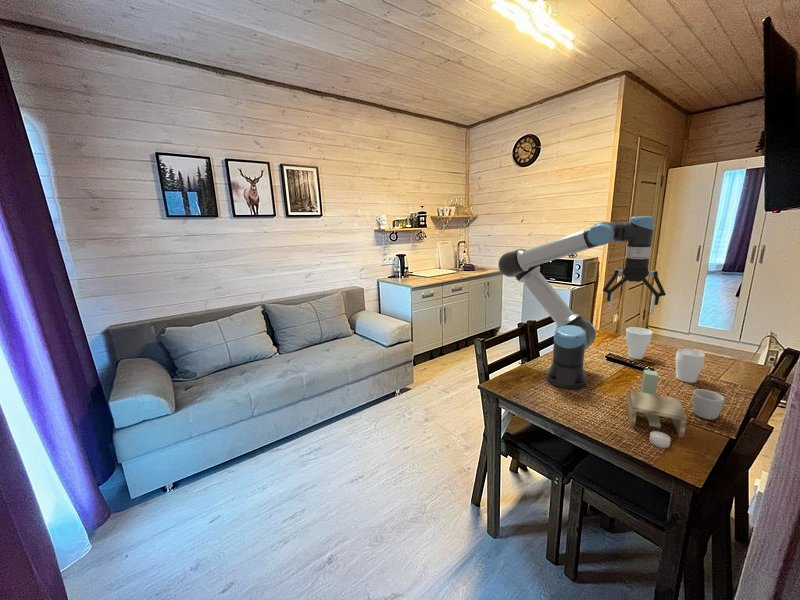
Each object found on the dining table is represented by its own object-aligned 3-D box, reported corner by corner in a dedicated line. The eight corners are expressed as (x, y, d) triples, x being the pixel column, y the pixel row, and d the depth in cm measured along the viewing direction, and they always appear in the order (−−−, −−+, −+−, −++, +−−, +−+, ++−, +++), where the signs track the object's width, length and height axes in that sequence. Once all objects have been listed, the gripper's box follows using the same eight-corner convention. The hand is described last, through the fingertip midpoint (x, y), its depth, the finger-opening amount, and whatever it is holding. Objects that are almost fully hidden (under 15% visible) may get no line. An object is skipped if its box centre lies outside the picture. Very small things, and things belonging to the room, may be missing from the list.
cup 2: (705, 384, 136) (710, 357, 133) (680, 383, 138) (684, 356, 135) (691, 374, 145) (696, 348, 142) (667, 373, 146) (671, 347, 143)
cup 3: (689, 403, 124) (692, 383, 122) (718, 410, 119) (723, 389, 117) (689, 417, 116) (693, 396, 114) (721, 425, 111) (725, 403, 109)
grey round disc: (651, 446, 103) (652, 439, 103) (647, 436, 108) (648, 429, 107) (671, 449, 101) (673, 442, 101) (666, 439, 106) (667, 433, 105)
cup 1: (617, 354, 167) (620, 328, 164) (633, 351, 170) (636, 325, 167) (637, 362, 158) (641, 335, 154) (654, 359, 161) (658, 332, 157)
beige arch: (630, 426, 113) (632, 406, 111) (627, 408, 123) (629, 390, 121) (683, 437, 106) (687, 417, 104) (675, 417, 116) (679, 398, 114)
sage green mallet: (647, 425, 113) (651, 395, 110) (640, 395, 131) (643, 369, 128) (662, 428, 111) (667, 398, 108) (652, 397, 129) (656, 371, 126)
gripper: (599, 257, 132) (594, 309, 137) (680, 259, 119) (671, 317, 125) (600, 255, 138) (594, 305, 144) (677, 257, 126) (668, 311, 131)
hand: (630, 310), depth 134 cm, fingers open, 13 cm apart
